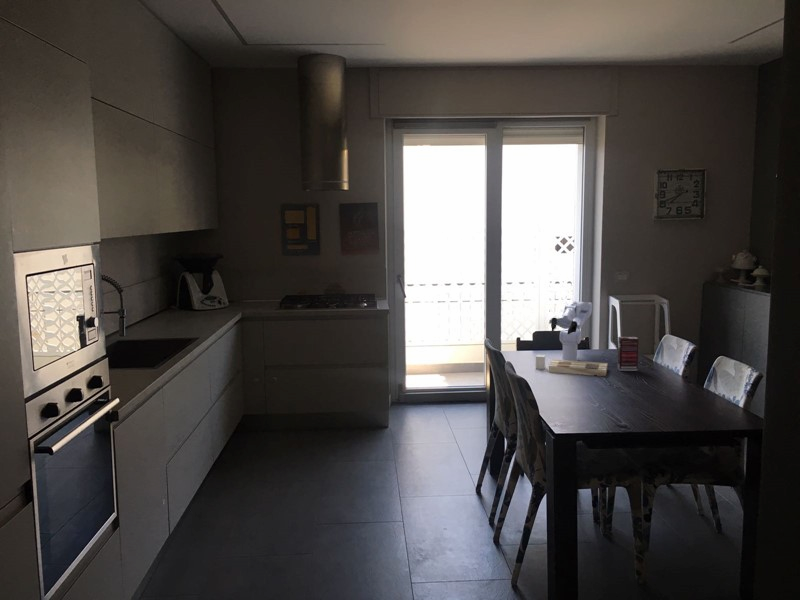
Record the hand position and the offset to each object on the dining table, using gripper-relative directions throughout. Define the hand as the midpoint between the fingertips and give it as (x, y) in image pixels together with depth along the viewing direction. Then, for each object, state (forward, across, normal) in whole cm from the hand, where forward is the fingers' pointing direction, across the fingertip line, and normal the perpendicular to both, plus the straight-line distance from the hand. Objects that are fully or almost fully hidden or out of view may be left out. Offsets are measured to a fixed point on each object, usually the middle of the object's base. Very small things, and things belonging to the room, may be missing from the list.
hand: (560, 330), depth 305 cm
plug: (+5, -7, +20) cm, 22 cm away
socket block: (+3, +11, +18) cm, 21 cm away
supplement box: (-8, +32, +19) cm, 38 cm away
